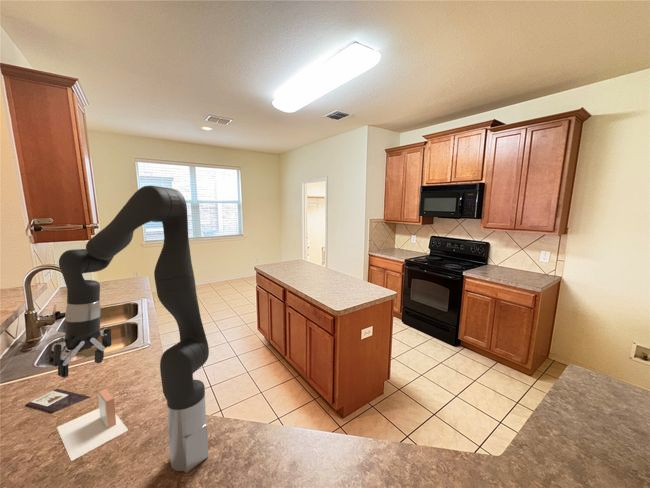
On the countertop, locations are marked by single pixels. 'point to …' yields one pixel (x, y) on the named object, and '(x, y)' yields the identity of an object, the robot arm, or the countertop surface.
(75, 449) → the mat
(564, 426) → the countertop surface
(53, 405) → the chocolate bar
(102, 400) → the block
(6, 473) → the countertop surface
